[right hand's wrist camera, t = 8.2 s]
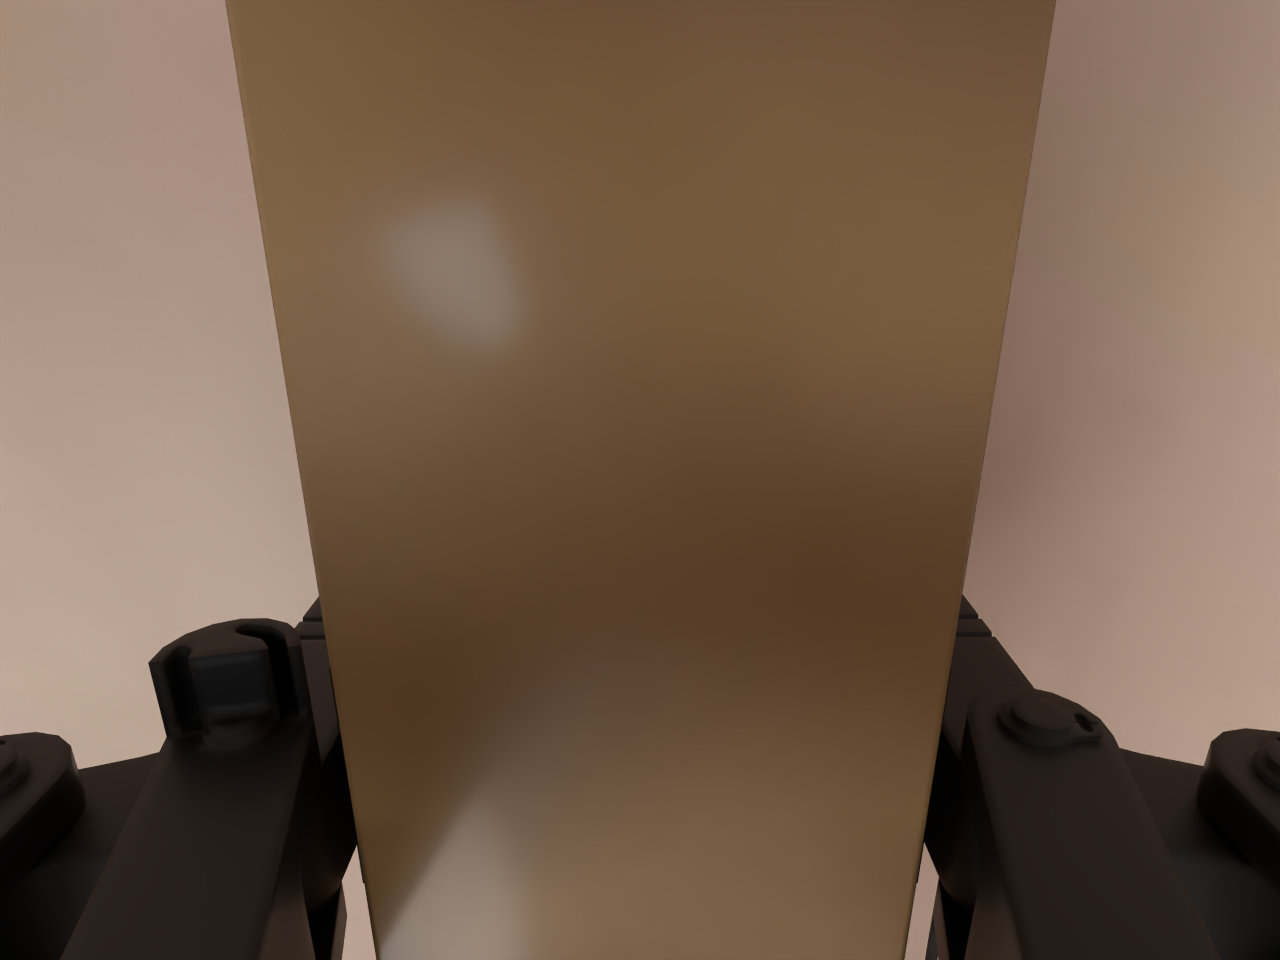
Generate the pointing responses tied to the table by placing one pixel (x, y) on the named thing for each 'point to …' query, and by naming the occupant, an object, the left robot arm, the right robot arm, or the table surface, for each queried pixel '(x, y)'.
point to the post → (640, 444)
